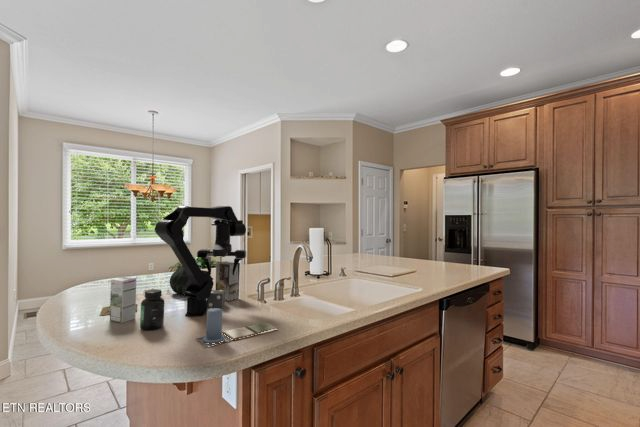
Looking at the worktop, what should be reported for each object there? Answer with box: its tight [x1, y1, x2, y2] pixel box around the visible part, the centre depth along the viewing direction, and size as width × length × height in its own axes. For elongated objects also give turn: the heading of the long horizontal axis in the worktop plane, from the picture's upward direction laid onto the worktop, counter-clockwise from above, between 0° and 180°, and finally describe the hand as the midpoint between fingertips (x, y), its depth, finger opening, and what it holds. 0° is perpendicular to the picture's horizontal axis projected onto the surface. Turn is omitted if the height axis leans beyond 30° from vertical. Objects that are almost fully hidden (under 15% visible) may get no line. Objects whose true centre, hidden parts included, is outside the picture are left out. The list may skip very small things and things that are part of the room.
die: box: [206, 289, 226, 309], centre depth 131 cm, size 6×6×6 cm
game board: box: [195, 322, 277, 348], centre depth 101 cm, size 24×8×1 cm, turn 131°
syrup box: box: [109, 276, 137, 324], centre depth 112 cm, size 6×6×14 cm
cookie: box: [99, 304, 138, 317], centre depth 123 cm, size 12×12×1 cm
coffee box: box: [215, 260, 241, 302], centre depth 145 cm, size 9×6×16 cm
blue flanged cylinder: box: [202, 308, 225, 345], centre depth 96 cm, size 6×6×9 cm
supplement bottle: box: [139, 289, 165, 332], centre depth 105 cm, size 7×7×12 cm
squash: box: [169, 266, 199, 296], centre depth 151 cm, size 14×15×15 cm
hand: (221, 274), depth 131 cm, fingers open, 9 cm apart
